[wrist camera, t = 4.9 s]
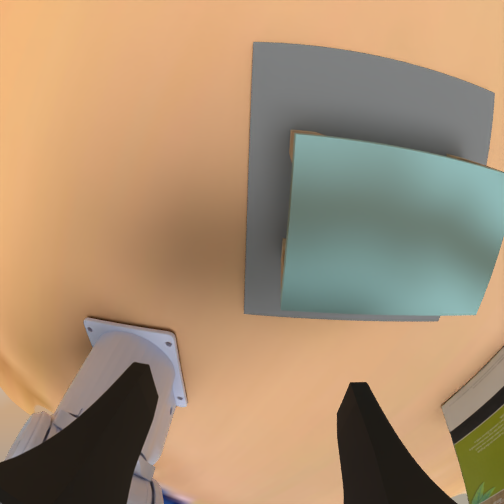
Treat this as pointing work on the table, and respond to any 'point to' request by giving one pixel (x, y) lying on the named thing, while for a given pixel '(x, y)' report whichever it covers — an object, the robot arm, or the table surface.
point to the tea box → (480, 432)
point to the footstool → (388, 229)
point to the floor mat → (344, 126)
